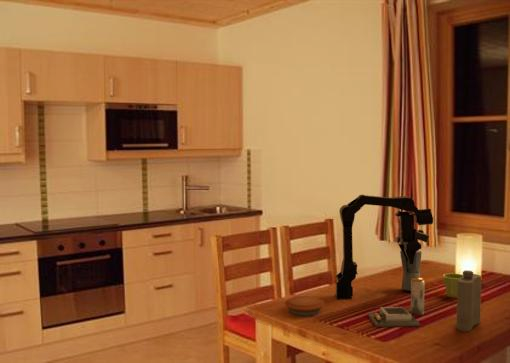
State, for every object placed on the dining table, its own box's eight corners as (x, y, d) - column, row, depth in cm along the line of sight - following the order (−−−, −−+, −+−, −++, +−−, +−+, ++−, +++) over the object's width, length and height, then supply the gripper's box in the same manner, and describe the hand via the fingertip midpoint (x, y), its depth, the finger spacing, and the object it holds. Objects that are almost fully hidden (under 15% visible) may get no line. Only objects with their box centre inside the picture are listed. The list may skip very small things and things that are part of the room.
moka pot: (425, 287, 248) (423, 243, 248) (420, 293, 234) (418, 247, 234) (404, 286, 252) (402, 243, 252) (398, 293, 238) (395, 247, 238)
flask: (465, 318, 206) (467, 266, 205) (481, 321, 203) (483, 268, 201) (452, 329, 195) (453, 274, 193) (469, 332, 191) (470, 276, 189)
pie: (302, 303, 227) (302, 291, 227) (331, 311, 216) (331, 299, 216) (276, 311, 216) (276, 299, 216) (306, 321, 205) (306, 308, 205)
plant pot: (441, 297, 233) (442, 277, 232) (443, 291, 242) (443, 272, 241) (465, 299, 229) (465, 279, 229) (465, 293, 238) (466, 274, 237)
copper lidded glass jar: (413, 314, 210) (413, 279, 209) (409, 310, 215) (409, 276, 214) (425, 314, 211) (426, 279, 209) (421, 310, 216) (422, 276, 214)
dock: (376, 326, 198) (376, 317, 197) (368, 316, 210) (368, 307, 209) (419, 326, 198) (419, 316, 198) (409, 315, 210) (409, 306, 210)
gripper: (433, 228, 221) (435, 265, 222) (420, 221, 240) (422, 256, 241) (405, 229, 222) (407, 267, 223) (395, 223, 240) (397, 258, 241)
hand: (409, 262), depth 232 cm, fingers open, 7 cm apart
